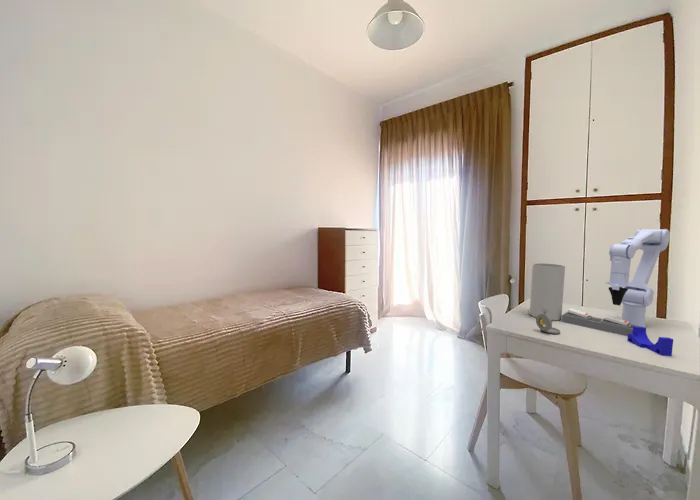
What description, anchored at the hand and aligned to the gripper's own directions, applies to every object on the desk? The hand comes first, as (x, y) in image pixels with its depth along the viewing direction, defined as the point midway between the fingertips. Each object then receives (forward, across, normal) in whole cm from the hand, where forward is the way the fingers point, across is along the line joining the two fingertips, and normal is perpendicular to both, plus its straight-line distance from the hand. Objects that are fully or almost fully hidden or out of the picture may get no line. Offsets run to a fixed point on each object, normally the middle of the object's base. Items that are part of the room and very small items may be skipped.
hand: (616, 304), depth 118 cm
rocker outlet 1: (+6, +2, -12) cm, 14 cm away
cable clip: (+11, +16, +11) cm, 23 cm away
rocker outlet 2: (+6, +2, +1) cm, 7 cm away
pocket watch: (+11, +26, -17) cm, 33 cm away
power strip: (+10, +2, -4) cm, 11 cm away
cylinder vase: (+11, +4, -24) cm, 27 cm away
